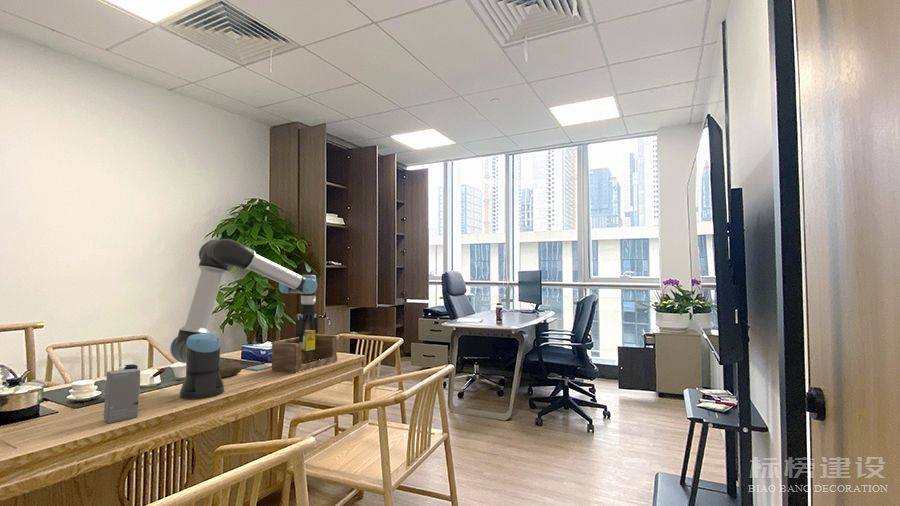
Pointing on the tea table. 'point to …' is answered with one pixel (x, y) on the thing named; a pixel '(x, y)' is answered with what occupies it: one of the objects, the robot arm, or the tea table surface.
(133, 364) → the medicine bottle
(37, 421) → the tea table surface
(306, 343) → the supplement box
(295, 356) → the crate
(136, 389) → the skincare box
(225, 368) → the stone weight
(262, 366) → the pad
